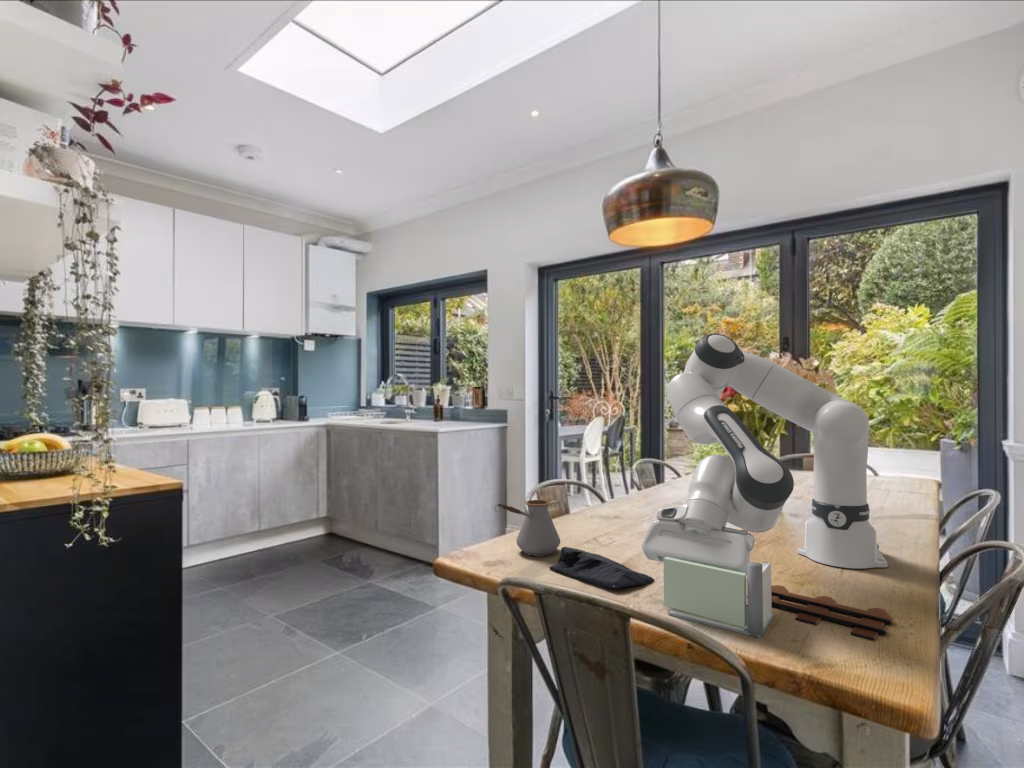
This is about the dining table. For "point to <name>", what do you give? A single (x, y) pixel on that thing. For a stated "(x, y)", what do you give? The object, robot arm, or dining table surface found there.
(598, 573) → the dark slate chunk
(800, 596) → the decorative fence
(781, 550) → the dining table surface
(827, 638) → the dining table surface
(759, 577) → the fence post and white panel
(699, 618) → the card
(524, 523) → the coffee pot
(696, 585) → the green wall panel
